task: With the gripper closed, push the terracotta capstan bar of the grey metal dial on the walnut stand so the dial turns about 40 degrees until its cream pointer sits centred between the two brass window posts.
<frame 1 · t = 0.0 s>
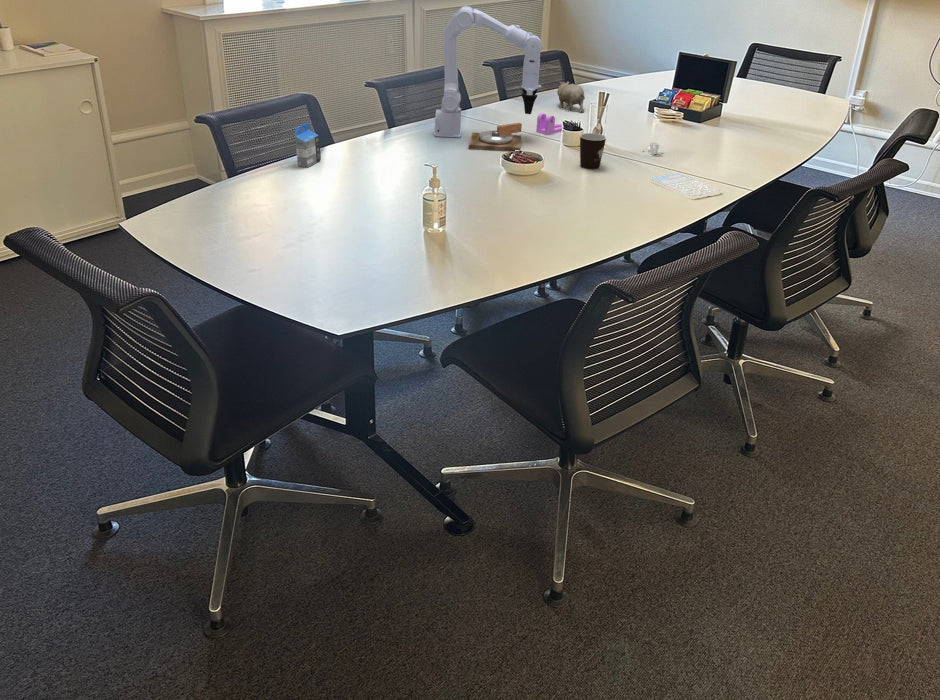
hand: (528, 111, 294), 10 cm above the table, tool pointing down, fingers open, 7 cm apart
calculator: (684, 189, 259), on the table
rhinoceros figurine: (568, 108, 344), on the table
coffee mug: (593, 166, 274), on the table
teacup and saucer: (660, 155, 291), on the table
bracket: (552, 131, 311), on the table
stand: (495, 144, 292), on the table
dial: (501, 132, 292), point 4 cm above the table, hinge at 40.0°
label tape box: (309, 164, 265), on the table
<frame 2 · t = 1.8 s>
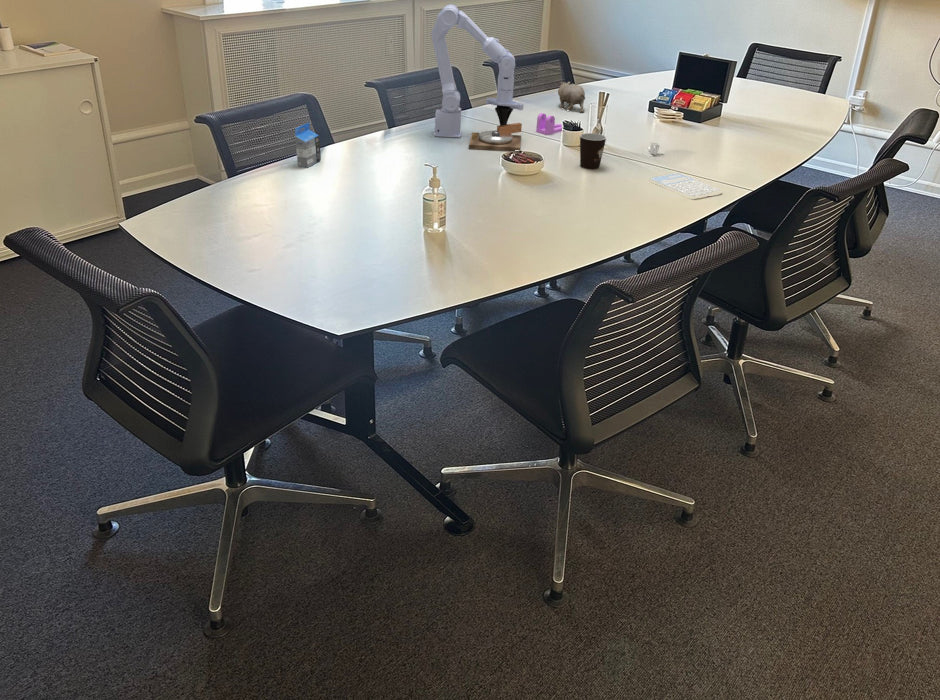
hand: (503, 126, 299), 4 cm above the table, tool pointing down, fingers closed
nothing on the table moved.
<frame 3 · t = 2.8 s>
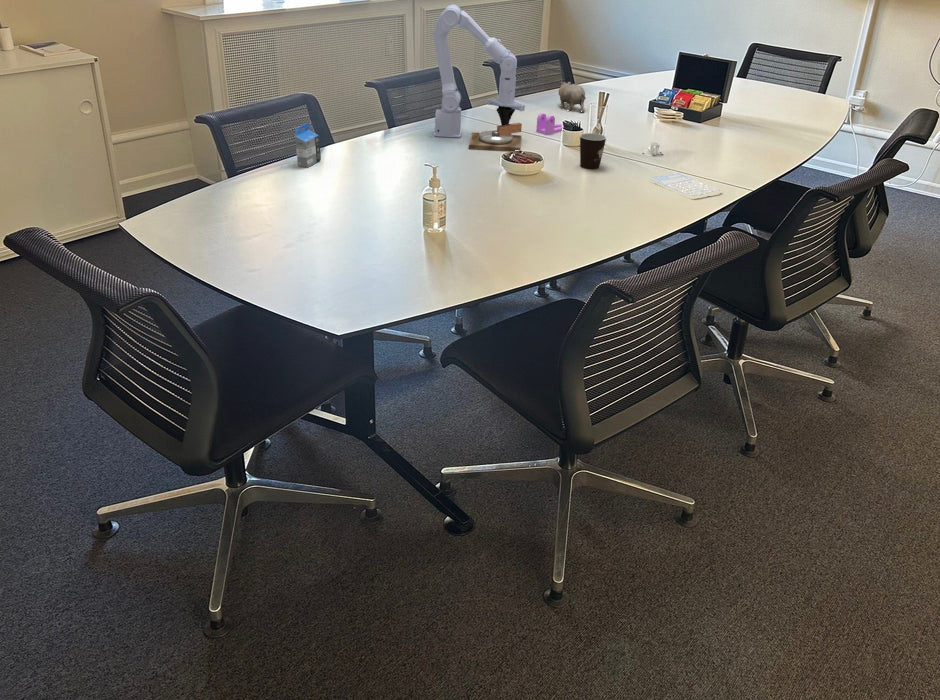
hand: (504, 127, 298), 4 cm above the table, tool pointing down, fingers closed
nothing on the table moved.
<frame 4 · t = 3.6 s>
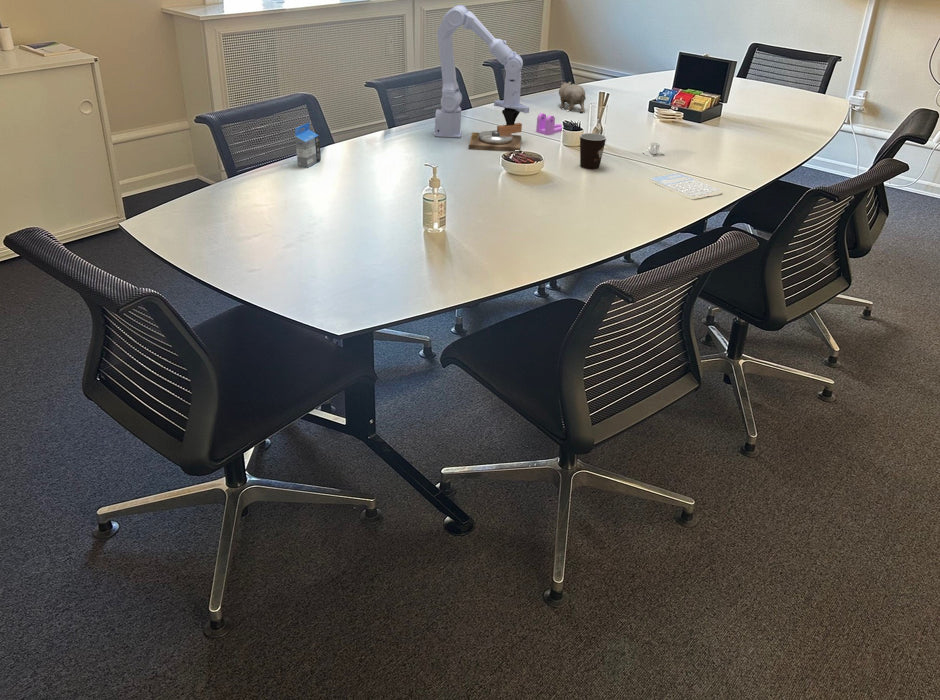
hand: (509, 129, 296), 4 cm above the table, tool pointing down, fingers closed
dial: (501, 132, 291), point 4 cm above the table, hinge at 39.4°, touching gripper
everything else where it was.
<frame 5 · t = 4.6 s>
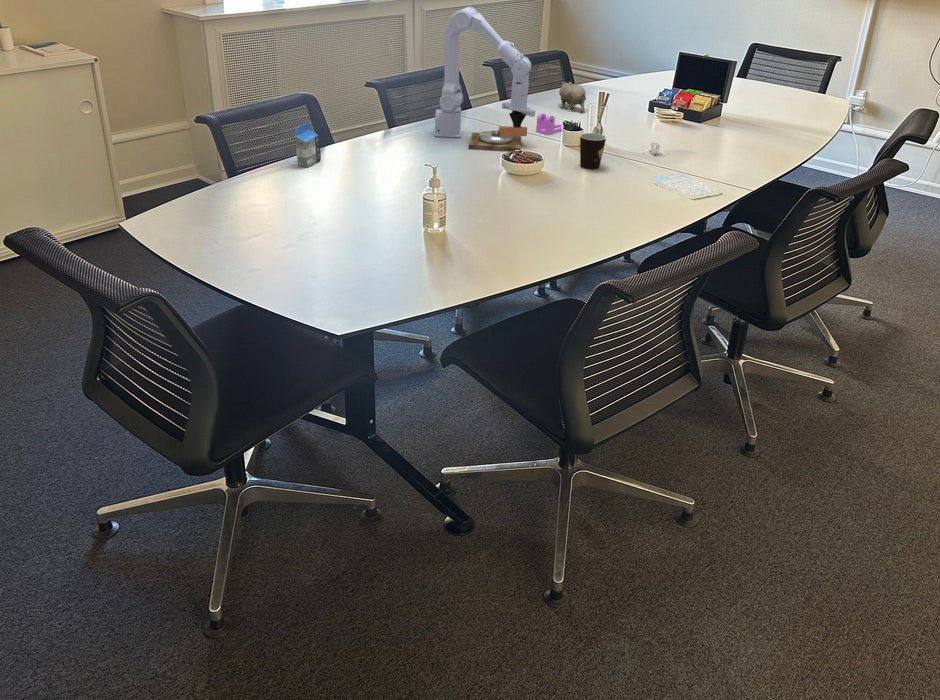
hand: (516, 132, 293), 4 cm above the table, tool pointing down, fingers closed, pressing on dial
dial: (502, 133, 290), point 4 cm above the table, hinge at 9.1°, touching gripper
everything else where it was.
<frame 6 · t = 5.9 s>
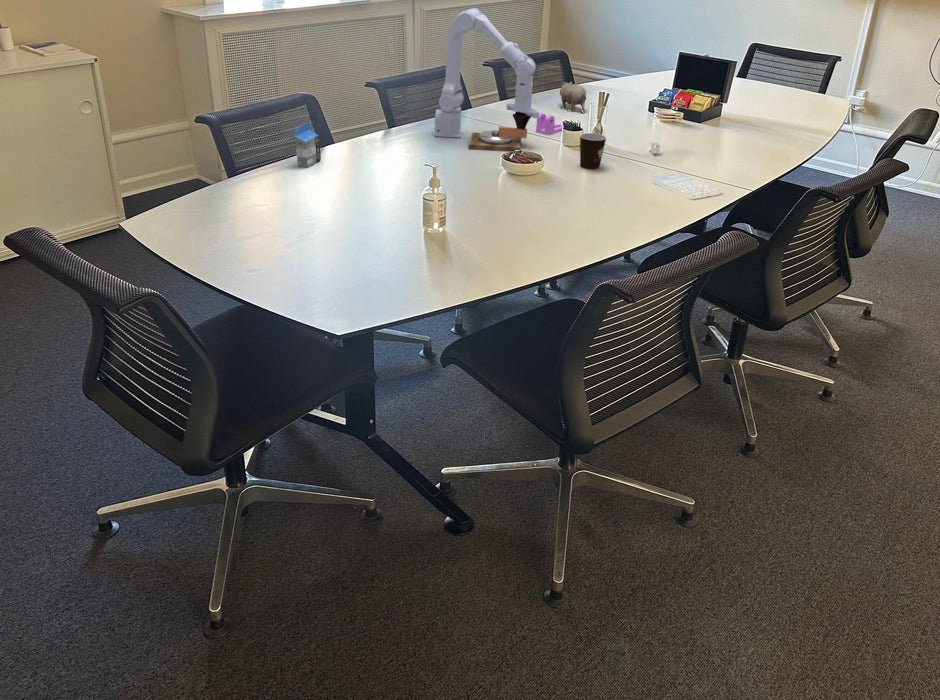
hand: (520, 134, 292), 4 cm above the table, tool pointing down, fingers closed
dial: (502, 133, 290), point 4 cm above the table, hinge at -5.7°, touching gripper
everything else where it was.
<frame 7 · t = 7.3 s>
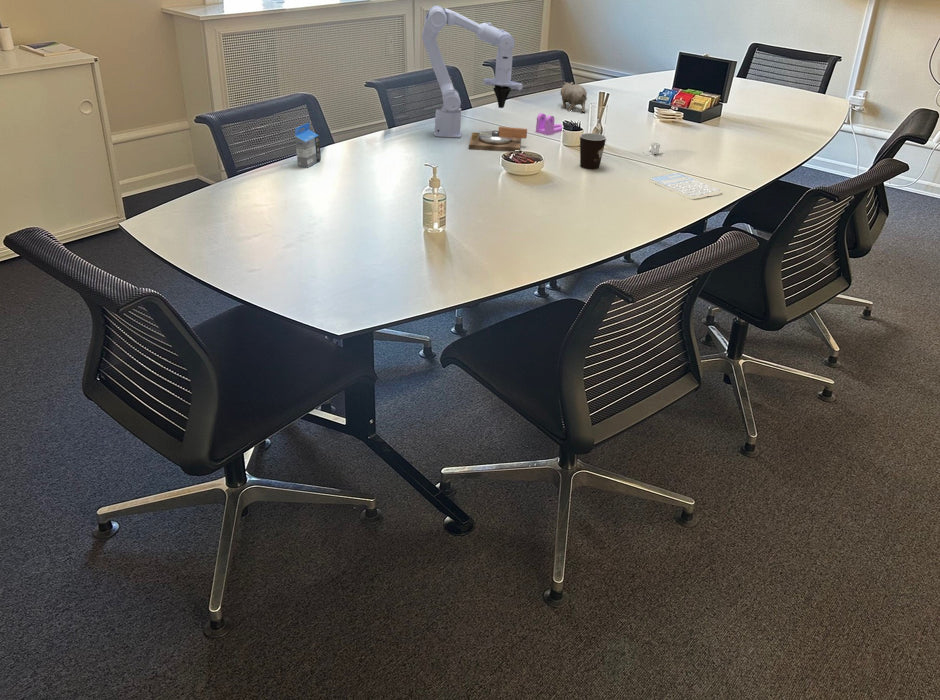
hand: (501, 107, 297), 10 cm above the table, tool pointing down, fingers closed
dial: (502, 133, 290), point 4 cm above the table, hinge at -5.8°
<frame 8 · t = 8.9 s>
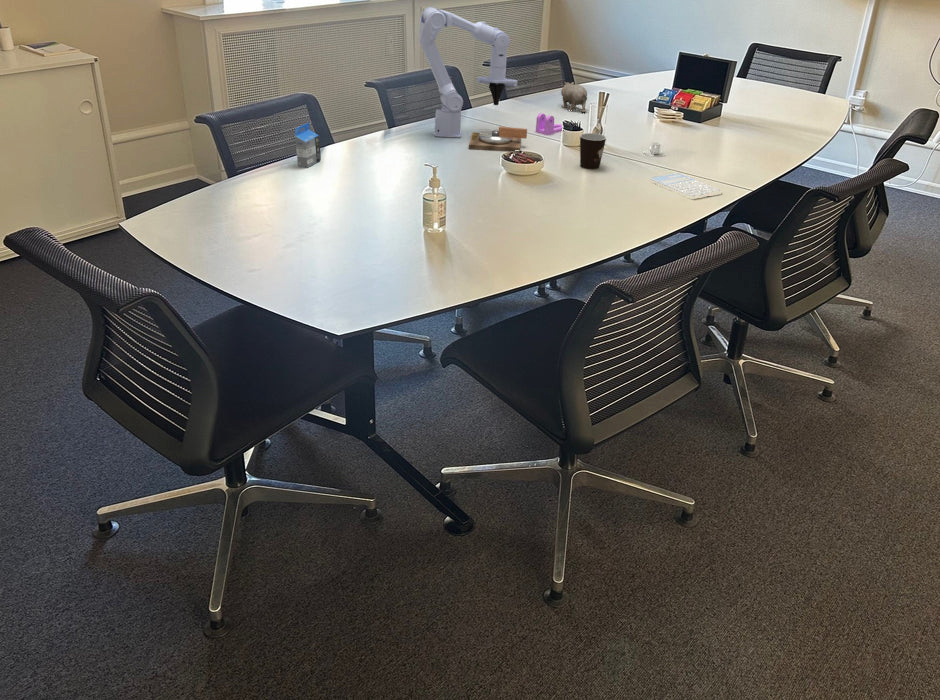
hand: (496, 104, 300), 10 cm above the table, tool pointing down, fingers closed
at the end: dial at -6° (first picture: +40°) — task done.
